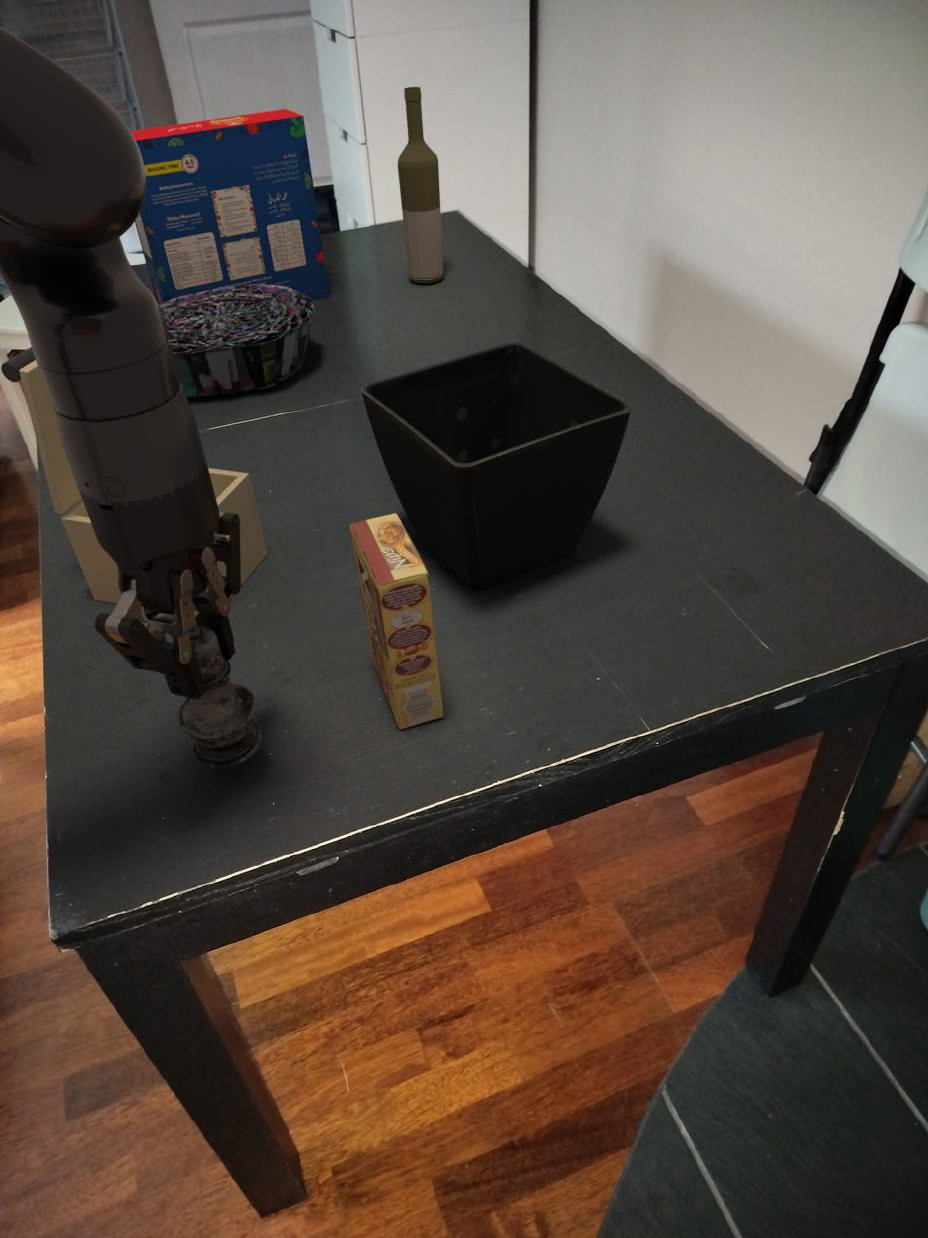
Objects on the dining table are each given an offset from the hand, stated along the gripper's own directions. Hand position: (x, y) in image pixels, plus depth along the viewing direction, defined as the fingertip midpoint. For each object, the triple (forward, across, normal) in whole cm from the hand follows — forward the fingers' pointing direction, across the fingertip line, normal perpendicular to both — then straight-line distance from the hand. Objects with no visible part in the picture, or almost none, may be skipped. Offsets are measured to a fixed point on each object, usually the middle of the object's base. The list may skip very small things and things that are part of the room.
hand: (206, 673), depth 62 cm
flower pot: (+10, -35, +12) cm, 38 cm away
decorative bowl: (+10, -69, -39) cm, 80 cm away
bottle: (+9, -112, -24) cm, 115 cm away
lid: (-7, -21, -23) cm, 32 cm away
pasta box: (+10, -94, -51) cm, 107 cm away
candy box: (+10, -12, +10) cm, 19 cm away
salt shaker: (+7, 0, 0) cm, 7 cm away
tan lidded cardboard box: (+10, -22, -18) cm, 30 cm away
